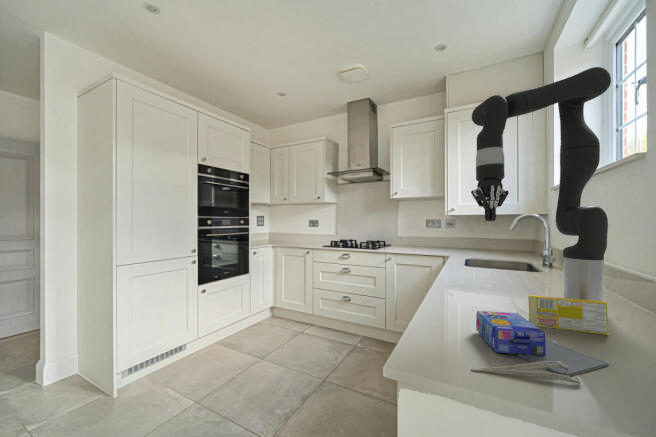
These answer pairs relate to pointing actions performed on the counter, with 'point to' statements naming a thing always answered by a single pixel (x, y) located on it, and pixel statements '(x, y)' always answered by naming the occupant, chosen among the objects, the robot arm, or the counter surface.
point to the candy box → (569, 314)
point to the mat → (566, 359)
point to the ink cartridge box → (510, 333)
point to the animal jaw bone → (519, 369)
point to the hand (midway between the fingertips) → (490, 220)
